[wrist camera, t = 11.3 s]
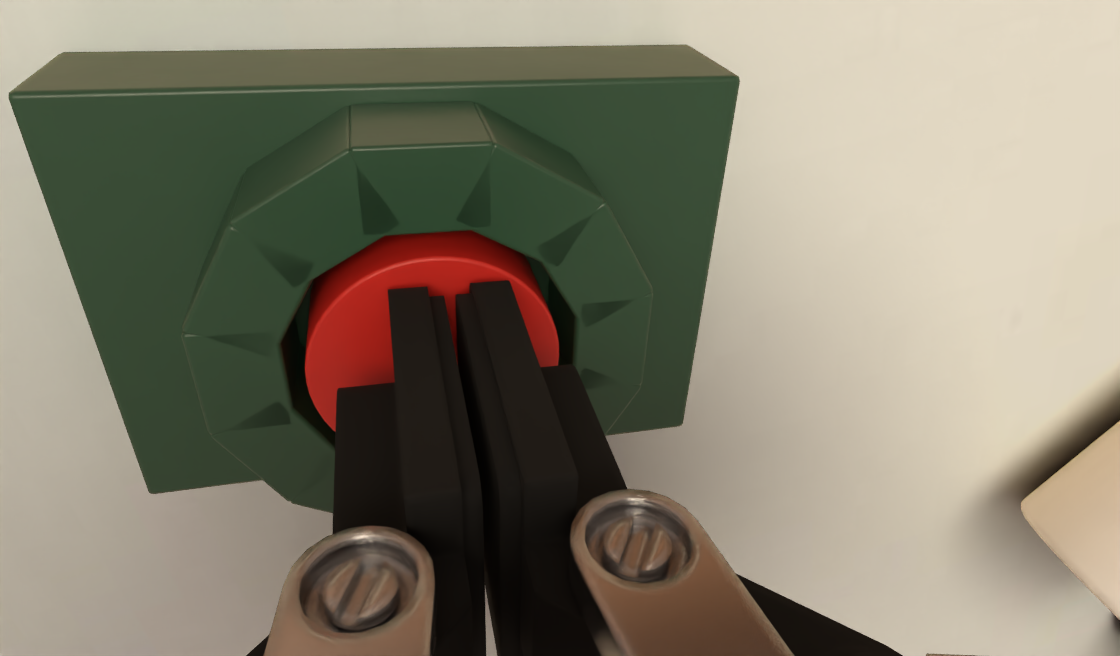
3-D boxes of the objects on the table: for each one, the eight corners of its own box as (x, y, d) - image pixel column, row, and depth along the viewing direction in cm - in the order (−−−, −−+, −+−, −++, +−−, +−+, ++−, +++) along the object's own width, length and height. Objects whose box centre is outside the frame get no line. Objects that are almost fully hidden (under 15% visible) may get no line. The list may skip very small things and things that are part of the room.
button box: (171, 417, 15) (122, 580, 12) (58, 51, 11) (-62, 140, 8) (648, 365, 17) (719, 490, 14) (689, 43, 13) (801, 110, 10)
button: (325, 407, 13) (322, 479, 11) (293, 210, 11) (285, 267, 9) (533, 384, 13) (555, 448, 12) (538, 197, 12) (565, 247, 10)
